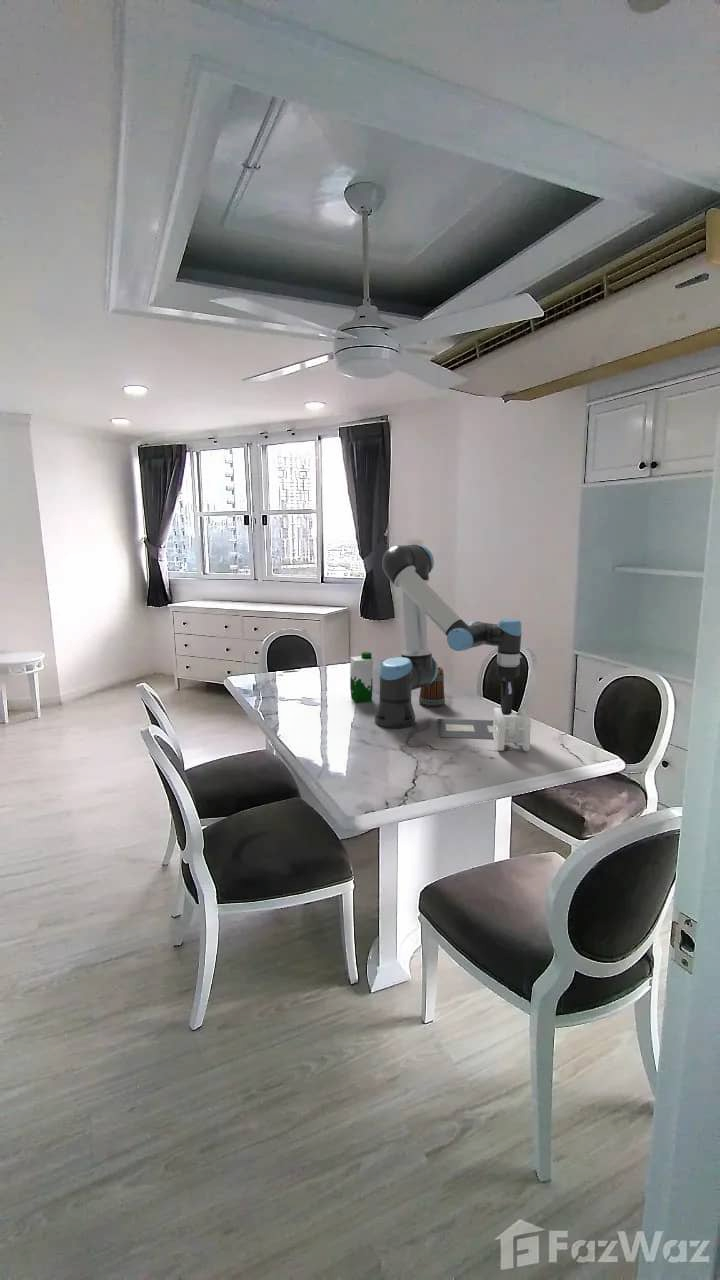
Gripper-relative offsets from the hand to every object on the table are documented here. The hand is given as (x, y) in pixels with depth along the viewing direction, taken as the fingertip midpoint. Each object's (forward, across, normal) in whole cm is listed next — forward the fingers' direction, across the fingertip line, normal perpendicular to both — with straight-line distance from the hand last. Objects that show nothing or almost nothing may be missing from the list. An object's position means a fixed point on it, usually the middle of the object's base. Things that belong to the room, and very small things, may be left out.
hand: (505, 730), depth 211 cm
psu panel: (+2, +6, +8) cm, 10 cm away
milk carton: (+2, +38, +53) cm, 66 cm away
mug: (+2, +38, +24) cm, 45 cm away
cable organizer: (+2, -11, 0) cm, 11 cm away
